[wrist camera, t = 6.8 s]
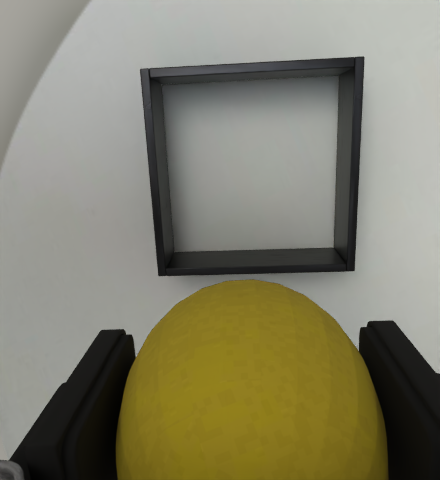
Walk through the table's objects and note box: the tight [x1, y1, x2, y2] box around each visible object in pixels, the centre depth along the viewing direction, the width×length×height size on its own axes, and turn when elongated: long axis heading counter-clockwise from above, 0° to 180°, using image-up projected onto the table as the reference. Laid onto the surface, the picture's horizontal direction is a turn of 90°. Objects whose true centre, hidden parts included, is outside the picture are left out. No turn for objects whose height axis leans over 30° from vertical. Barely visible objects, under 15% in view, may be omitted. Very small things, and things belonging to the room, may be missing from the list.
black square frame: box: [140, 57, 364, 276], centre depth 25 cm, size 12×12×4 cm
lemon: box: [116, 279, 389, 480], centre depth 9 cm, size 6×6×8 cm
